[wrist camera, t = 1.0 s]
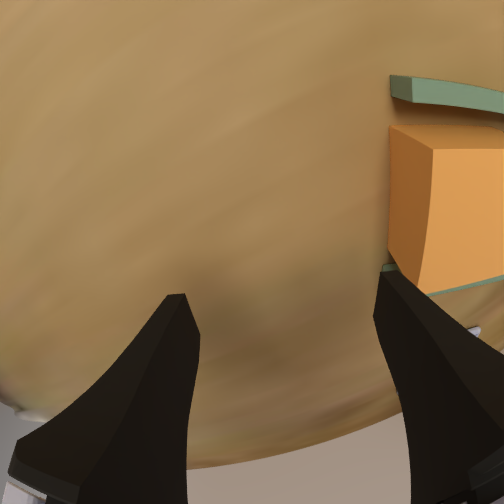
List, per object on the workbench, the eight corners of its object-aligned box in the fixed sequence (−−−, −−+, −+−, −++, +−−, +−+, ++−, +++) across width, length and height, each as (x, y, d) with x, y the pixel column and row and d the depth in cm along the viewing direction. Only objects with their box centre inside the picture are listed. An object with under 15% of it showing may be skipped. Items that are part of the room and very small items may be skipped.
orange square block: (476, 231, 18) (513, 271, 14) (386, 246, 19) (415, 296, 14) (489, 126, 13) (541, 151, 9) (387, 125, 14) (433, 149, 10)
